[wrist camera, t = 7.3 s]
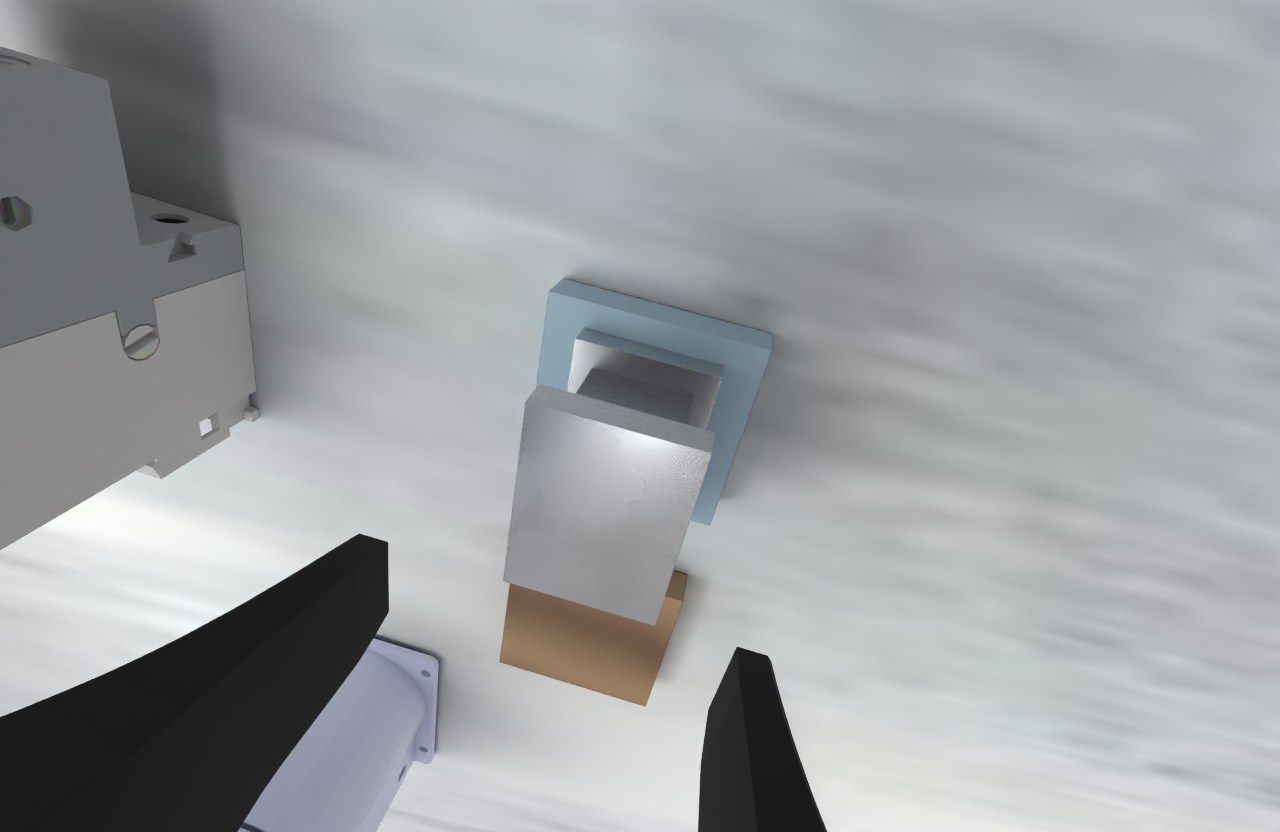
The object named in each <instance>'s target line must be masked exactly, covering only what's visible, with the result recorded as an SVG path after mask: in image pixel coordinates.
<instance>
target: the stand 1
mask: <svg viewBox="0 0 1280 832" xmlns="http://www.w3.org/2000/svg"><path fill="white" fill-rule="evenodd" d="M584 327H585V328H588V329H592V330H596V331H600V332H603V333H607V334H611V335H614V336H618V337H622V338H625V339H629V340H633V341H637V342H640V343H644V344H648V345H651V346H655V347H659V348H662V349H666V350H670V351H674V352H677V353H681V354H685V355H688V356H692V357H696V358H699V359H703V360H707V361H711V362H714V363H718V364H722V365H724V368H723V375H722V380H721V383H720V387H719V390H718V393H717V396H716V399H715V403H714V406H713V409H712V412H711V415H710V418H709V422H708V425H707V428H706V430H709V431H712V432H715V434H714V441H713V449H712V455H711V458H710V461H709V464H708V467H707V470H706V473H705V476H704V479H703V482H702V485H701V488H700V491H699V494H698V497H697V500H696V503H695V506H694V509H693V512H692V515H691V518H690V520H692V521H695V522H699V523H702V524H706V525H709V526H710V524H711V521H712V518H713V515H714V513H715V510H716V507H717V504H718V501H719V499H720V496H721V493H722V490H723V487H724V484H725V482H726V479H727V476H728V473H729V470H730V468H731V465H732V462H733V459H734V456H735V453H736V451H737V448H738V445H739V442H740V439H741V437H742V434H743V431H744V428H745V425H746V423H747V420H748V417H749V414H750V411H751V408H752V406H753V403H754V400H755V397H756V394H757V392H758V389H759V386H760V383H761V380H762V377H763V375H764V372H765V369H766V366H767V363H768V361H769V358H770V355H771V352H772V342H771V333H767V332H763V331H760V330H756V329H752V328H748V327H745V326H741V325H737V324H733V323H730V322H726V321H722V320H718V319H715V318H711V317H707V316H703V315H700V314H696V313H692V312H688V311H684V310H681V309H677V308H673V307H669V306H666V305H662V304H658V303H654V302H651V301H647V300H643V299H639V298H636V297H632V296H628V295H624V294H620V293H617V292H613V291H609V290H605V289H602V288H598V287H594V286H590V285H587V284H583V283H579V282H575V281H572V280H568V279H564V278H563V279H562V280H561V281H560V282H559V283H558V284H557V285H555V286H554V287H553V288H552V289H551V290H550V291H549V295H548V303H547V310H546V318H545V325H544V333H543V340H542V348H541V355H540V363H539V370H538V378H537V385H536V388H537V387H538V385H539V384H543V385H546V386H550V387H553V388H557V389H561V390H564V391H567V386H568V380H569V374H570V367H571V361H572V355H573V349H574V343H575V338H576V337H577V336H578V334H579V333H580V332H581V331H582V329H583V328H584Z"/></svg>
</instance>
